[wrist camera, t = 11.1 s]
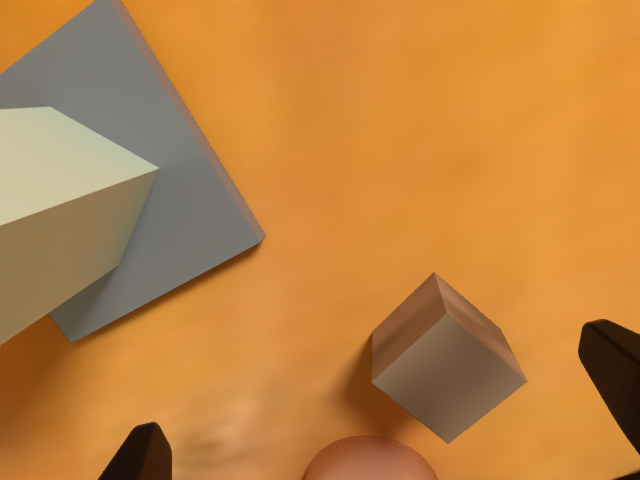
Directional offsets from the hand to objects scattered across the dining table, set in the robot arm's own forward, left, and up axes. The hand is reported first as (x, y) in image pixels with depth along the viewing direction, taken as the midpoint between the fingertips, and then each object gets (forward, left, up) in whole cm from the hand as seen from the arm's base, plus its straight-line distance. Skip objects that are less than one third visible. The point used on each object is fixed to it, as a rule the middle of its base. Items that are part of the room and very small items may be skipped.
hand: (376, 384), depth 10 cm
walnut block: (-5, 0, -11) cm, 12 cm away
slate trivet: (+8, +10, -11) cm, 17 cm away
